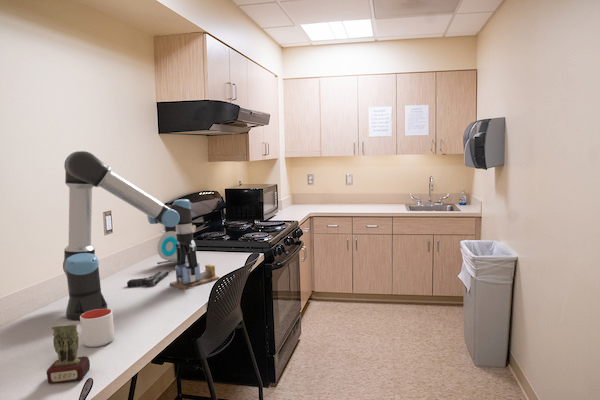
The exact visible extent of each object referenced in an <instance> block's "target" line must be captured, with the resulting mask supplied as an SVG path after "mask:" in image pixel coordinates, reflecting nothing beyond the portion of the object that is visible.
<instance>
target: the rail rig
mask: <svg viewBox="0 0 600 400" xmlns="http://www.w3.org/2000/svg"><path fill="white" fill-rule="evenodd" d="M204 267H205V270H201V271H200V278H201V280H198V281H195V282H191V283H188V284H183V282H182V277H178V278H179V283H177V280H176V281H172V282H169V285H170V286H171V285H172V287H174V286H175V288H177V287H178V288H179V289H180V290H187V289H190V288H194V287H197V286H200V285H201V286H202V285H205V284H208V283H210V282H214V281H218V280H220V279H221V278H220V276H218V275H216V268H215V265H212V264H206V265H205V266H204ZM219 278H220V279H219Z"/></svg>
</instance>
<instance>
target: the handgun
mask: <svg viewBox="0 0 600 400" xmlns="http://www.w3.org/2000/svg"><path fill="white" fill-rule="evenodd" d="M168 275H169V270H166V269H164V270H162V271H158V272H157V273H155V274H154V275H151V276H148V277H142V278H135V279H134V278H133V279H130V280H128V281H127V282H126V284H127V286H126V287H127V288H135V287H143V286H145V287H154V286H156V285H157V284H158V283H159V282H160V281H161V279H162V280H163V279H164V278H166V277H167V276H168Z"/></svg>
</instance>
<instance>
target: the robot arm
mask: <svg viewBox="0 0 600 400" xmlns="http://www.w3.org/2000/svg"><path fill="white" fill-rule="evenodd" d="M63 166H64V167H63V168H64V170H65V172H64V173H65V182H64V184H65V185H66V186H67V187H68V188H69V190H68V191H69V193H68V196H69V197H68V200H69V201H68V245H67V246H66V247H65V248H64V251H63V252H64V256H63V257H64V258H63V262H62V269H63V272H64V275H66V278H67V279H66V282H67V289H68V301H67V306H66V310H65V316H66V318H67V319H68V320H69V321H70V320H71V321H80V316H81V315H82V314H83V313H85V312H88V311H91V310H95V309H109V308H108V303H107V301H106V299H105V297H104V295H103V293H102V288H101V277H100V268H99V265H100V263H99V260H98V257H97V255H96V254H95V253H96V252H95V251H96V248H95V246H93V245H92V215H93V214H92V213H93V211H92V207H93V203H92V200H93V188H101V189H104V190H105V191H107V192H108V193H110V194H111V195H113V196H115V197H117V198H118V199H120V200H121V201H124V202H125V203H126V204H128V205H130V206H131V207H133V208H135V209H137V210H138V211H140V212H142V213H144V214H145V215H146V217H147V221H148V222H149V224H150V225H156V224H161V225H163V226H165V227H166V228H173V227H175V232H176V233H177V234H176V237H177V241H178V242H179V244H176V249H177V262H176V264H177V265H180V264H184V263H185V260H186V256H187V259H188V262H187V263H189V267H190V268H188V269H189V279H190V282H194V281H196V280H195V267H197V266H198V265H197V263H198V259H197V258H198V257H197V246H192V243H191V241H192V240H193V241H194V232H192V226H193V221H192V207H191V201H190V199H186V198H184V199H183V198H181V199H175V200H174V201H173V202H172V203H173V204H171V205H170V204H169V205H166V204H164V203H163V202H161V201H160V200H158V199H157V198H155V197H153V196H152V195H150V194H148V193H147V192H146V191H144V190H143V189H141V188H139V187H137V186H136V185H134V184H133V183H131V182H130V181H128V180H126V179H125V178H123V177H121V176H120V175H118V174H116V172H113V171H112V170H111V167H110V166H109V165H107V164H106V163H104V162H103V161H102V160H100V159H99V158H98V157H97V156H96V155H94V154H93V153H92V152H90V151H89V152H88V151H82V150H80V151H74V152H72V153H70V154H69V155H68V156H67V157H66V159H65V161H64V165H63ZM187 252H188V253H187ZM191 265H192V266H191Z"/></svg>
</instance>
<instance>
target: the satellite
mask: <svg viewBox="0 0 600 400" xmlns="http://www.w3.org/2000/svg"><path fill="white" fill-rule="evenodd" d="M196 226H197V225H195V224H192V231H191V232H192V233H195V232H196V230H197V227H196ZM158 231H159V232H160V233H162V235H161V236H160V237H159V240H158V243H157V253H158V256H159V257H160V258H161V259H162V260H163V261H158V262H156V264H157V265H161V264H167V263H177V249H176V244H179V242H178V241H177V237H176V234H177V233H176V231H175V230H173V231H172V230H169V231H164V230H161V229H160V228H158ZM191 243H192V246H196V242H195V240H194V239H193V240H192V241H191ZM196 247H197V246H196ZM187 253H188V252H187ZM185 263H188V259H187V256H186V260H185Z"/></svg>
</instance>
